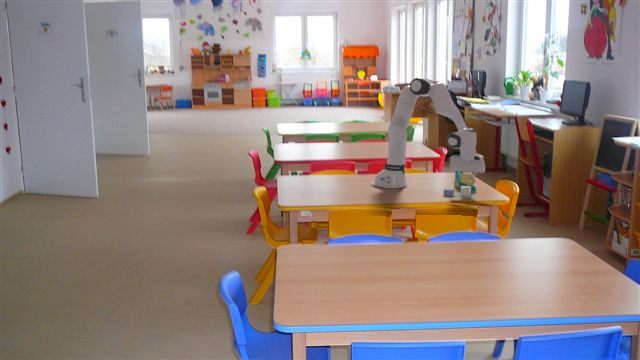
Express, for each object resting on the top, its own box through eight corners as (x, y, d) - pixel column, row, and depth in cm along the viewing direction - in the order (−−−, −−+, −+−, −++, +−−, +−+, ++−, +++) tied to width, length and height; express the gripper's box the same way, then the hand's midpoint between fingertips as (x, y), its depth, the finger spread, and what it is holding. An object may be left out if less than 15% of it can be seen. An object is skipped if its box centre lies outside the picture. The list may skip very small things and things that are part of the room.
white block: (460, 195, 389) (460, 187, 388) (462, 194, 394) (462, 185, 393) (468, 196, 387) (469, 188, 386) (470, 195, 392) (471, 186, 391)
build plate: (451, 198, 388) (451, 196, 388) (456, 194, 399) (457, 192, 399) (474, 200, 383) (474, 198, 382) (478, 196, 394) (478, 194, 394)
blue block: (443, 197, 390) (443, 189, 389) (445, 196, 394) (445, 187, 393) (451, 198, 388) (452, 190, 387) (453, 196, 392) (454, 188, 391)
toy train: (465, 193, 401) (467, 169, 398) (453, 188, 416) (454, 164, 413) (477, 193, 403) (479, 169, 400) (464, 187, 419) (466, 164, 415)
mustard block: (461, 182, 388) (461, 173, 387) (463, 180, 392) (463, 172, 391) (469, 183, 386) (470, 174, 385) (471, 181, 390) (472, 173, 389)
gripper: (448, 155, 387) (447, 178, 390) (484, 158, 379) (483, 181, 382) (451, 153, 393) (450, 176, 396) (486, 156, 385) (485, 179, 388)
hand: (466, 179), depth 389 cm, fingers closed on mustard block, 5 cm apart
